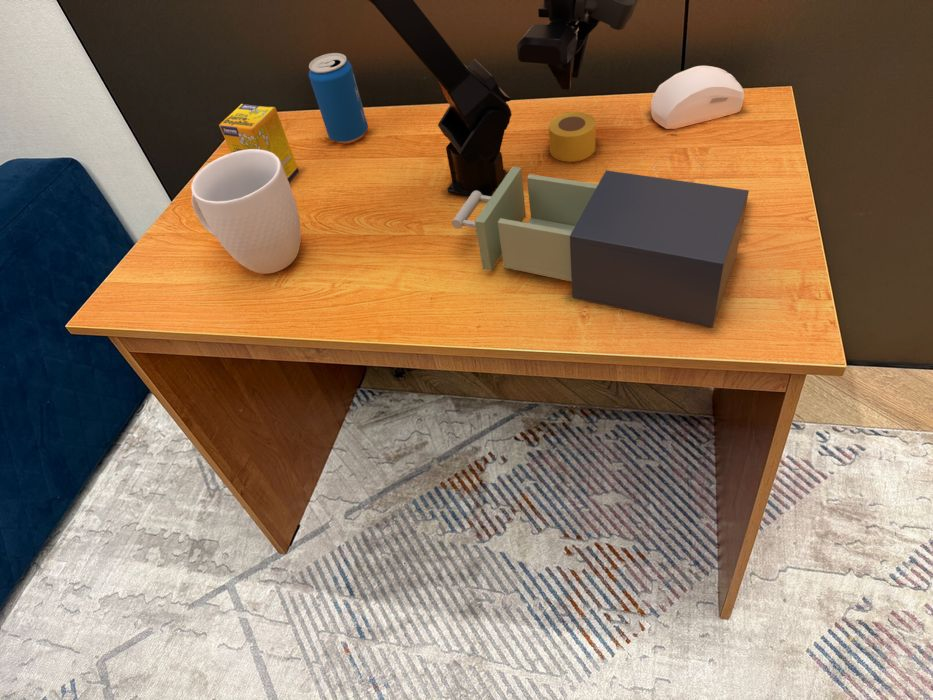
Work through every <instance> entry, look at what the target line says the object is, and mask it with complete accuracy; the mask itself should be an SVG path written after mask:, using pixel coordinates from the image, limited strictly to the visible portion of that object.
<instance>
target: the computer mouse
mask: <svg viewBox="0 0 933 700" xmlns="http://www.w3.org/2000/svg"><path fill="white" fill-rule="evenodd" d="M744 91H745V90H744V88H743V86H742V85H741V84H740V82H738V80H737V79H736V77H734V76H733V75H732V74H731V73H729V72H728V71H726V70H725V69H722V68H720V67H716V66H710V65H697V66H693V67H691V68H688V69H685V70H682V71H679V72H677V73H675V74H674V75H672V76H671V77H669V78H668V79H666V80H665V81H664V82H662V83H660V84H659V85H658V87H657V88H656V91H654V93H653V95H652V98H651V102H650V115H651V117H652V120H654V122H656V123H657V124H658V125H660V126H661V127H663V128H664V129H666V130H676V129H680V128H684V127H688V126H691V125H696V124H699V123H704V122H708V121H712V120H715V119H716V120H717V119H719V118H723V117H727V116H730V115H733V114H737V113H740V112H741V111H742V108H743V103H744V99H745V93H744Z"/></svg>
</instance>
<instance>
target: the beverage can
mask: <svg viewBox="0 0 933 700" xmlns="http://www.w3.org/2000/svg"><path fill="white" fill-rule="evenodd" d="M308 69H309V71H308V78H309V81H310V84H311V87H312V90H313V93H314V96H315V99H316V103H317V105H318V109H319V111H320V115H321V118H322V121H323V124H324V128H325V131H326V133H327V136H328V138H329V139H330V140H331V141H333V142H336V143H338V144H350V143H354V142H356V141H359V140H360V139H361V138H363V136H364V135H365V134H366V132H367V131H368V129H369V125H368V120H367V117H366V114H365V110H364V106H363V103H362V99H361V96H360V91H359V88H358V85H357V82H356V78H355V74H354V71H353V66H352V64H351V62H350V61H349V60H348V59H347V56H346V55H345V54H343V53H339V52H330V53H326V54H323V55H320V56H319V55H318V56H317V57H315V58H314V59H312V60H311V61H310V62H309V65H308Z"/></svg>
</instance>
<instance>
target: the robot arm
mask: <svg viewBox="0 0 933 700" xmlns="http://www.w3.org/2000/svg"><path fill="white" fill-rule="evenodd" d="M368 1H369V2H370V3H371V4H372V5H373V6H374V7H375V8H376V9H377V11H378V12H379V13H380V14H381V15H382V16H383V18H384V19H385V20H386V21H387V22H388V24H390V26H391V27H392V28H393V30H394V31H395V32H397V34H398V35H399V36H400V38H401V39H402V40H403V42H404V43H405V44H406V45H407V46H408V47H409V48H410V50H411V51H412V52H413V53H414V54H415V56H416V57H417V58H418V59H419V60H420V61H421V63H422V64H423V65H424V66H425V67H426V69H427V70H428V71H429V72H430V73H431V74H432V76H433V77H434V78H435V79H436V80H437V83H438V84H439V86H440V89H441V91H442V94H443V96H444V97H445V99H446V101H447V103H448V105H449V106H448V108H447V109H446V111H445V112H444V114H443V116H442V117H441V119H440V120H439V122H438V124H437V126H438V128H439V130H440V131H441V133H442V134H443V136H444V137H445V138H447V140H448V141H449V143H448V144H447V145H446V147H445V152H446V156H447V162H448V167H449V172H450V177H451V183H450V184H449V185H448V187H447V190H446V191H447V193H448V194H451V195H458V196H463V197H468V198H469V197H470V195H471V194H472V192H473V191H479V192H481V194H482V195H485V196H491V197H492V195H493V194H494V192H495V191H496V190H497V188H498V187H499V185H500V184H501V182H502V181H503V179H504V178H505V177H506V175H507V174H508V171H507V169H505V168H504V161H503V153H502V152H501V149H502V144H503V139H504V135H505V131H506V130H507V128H508V126H509V125H510V122H511V117H512V111H511V108H510V106H509V104H508V102H510V101H511V98H510V96H509V95H508V94H507V93H505V91H504V90H502V88H501V87H500V86H499V85H498V83H497V81H496V78H495V77H494V76H493V75H492V74H491V73H490V72H489V71H488V70H487V69H486V68H485V67H484V66H483V65H482V64H481V63H480V62H479V61H478V60H477V59H476V58H474V59H473V60H472V61H471V62H470V64H469V65H468V66H467V65H466V64H464V63H463V61H462V60H461V59H460V58H459V56H458V54H456V52H455V51H454V50H453V48H452V47H451V45H449V43H448V42H447V41H446V39H444V37H443V36H442V34H441V33H440V32H439V30H438V29H436V27H435V26H434V25H433V23H432V22H431V20H430V19H429V18H428V17H427V15H426V14H425V13H424V11H422V9H421V8H420V6H419V5H418V4H417V3H416V2H415V0H368ZM638 1H639V0H543V2H542V3H541V5H540V6H539V7H538V9H537V11H538V18H544V19H548V22H547V23H546V24H541V23H534V24H533V25H531V27H530V28H529V29H528V30H527V31H526V32H525V33H524V35H523V36H522V37H521V38H520V40H518V42H517V43H516V48H517V49H516V50H517V60H518V61H519V62H521V63H528V64H529V63H530V64H543V65H547V66H548V68H549V70H550V72H551V74H552V75H553V77H554V79H555V80H556V82H557V83H558V85H559V87H560V88H561V89H562V90H564V91H569V90H570V89H571V87H572V80H573V79H577V78H578V77H579V76H580V72H581V69H582V68H581V67H582V64H583V59H584V55H585V51H586V47H587V43H588V39H589V35H590V33H591V32H592V31H593V30H594V29H595V28H596V27H597V26H598V25H599V23H600V22H602V23H604V24H606V25H608V26H609V27H610V28H611V29H613V30H617V31H622V30H624V29H625V28H626V26H627V25H628V23H629V21H630V20H631V18H632V16H633V14H634V11H635V9H636V7H637V4H638Z"/></svg>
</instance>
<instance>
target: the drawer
mask: <svg viewBox="0 0 933 700" xmlns="http://www.w3.org/2000/svg"><path fill="white" fill-rule="evenodd" d="M526 179H527V180H526V181H527V191H528V201H529V213H530V218H529V220H528V222H523V221H525V219H526V217H527V213H526V204H525V193H524V183H523V172H522V168H521V167H518V166H511V168H510V169H509V171H507V174H506V176H505V178H504V179H503V181H502V182H501V184H500V185H499V187H498V188H497V189H496V190H495V192H494V193H493V195H492V196H485V195H482V194H481V192H479V191H473V192H472V194H471V195H470V197H469V196H468V198H467V199H466V200H465V202H464V204H463V205H462V206H461V207H460V209H459V210H458V212H457V213H456V215H454V217H453V218H452V220H451V225H452V227H453V228H455V229H457V230H460V229H462V228H463V227H466V228H472V229H475V231H476V237H477V242H478V243H477V244H478V249H479V255H480V261H481V267H482V270H484V271H489V272H490V271H491V272H492V271H493V269H494V268H495V267H496V266H497V264H498V262H499V260H500V258H501V257H502V264H503V268H505V269H509V270H514V271H519V272H523V273H528V274H533V275H538V276H543V277H548V278H553V279H557V280H563V281H567V282H571V283H572V279H571V255H570V235H571V233H572V231H573V229H574V227H575V226H576V224H577V222H578V220H579V218H580V216H581V215H582V213H583V211H584V209H585V207H586V206H587V204H588V202H589V200H590V198H591V197H592V195H593V193H594V191H595V189H596V188H597V186H598V184H599V183H591V182H586V181H580V180H572V179H565V178H558V177H552V176H544V175H537V174H533V173H532V174H531V173H529V174H528V176H526ZM480 202H483V203H486V204H485V206H483V209H482V210H481V211H480V213H479V214H478V216H477V217H476V219H475V220H469V218H470V216H471V215H472V214H473V212H474V211H475V210H476V208H477V206H478V205H479V204H480Z"/></svg>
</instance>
